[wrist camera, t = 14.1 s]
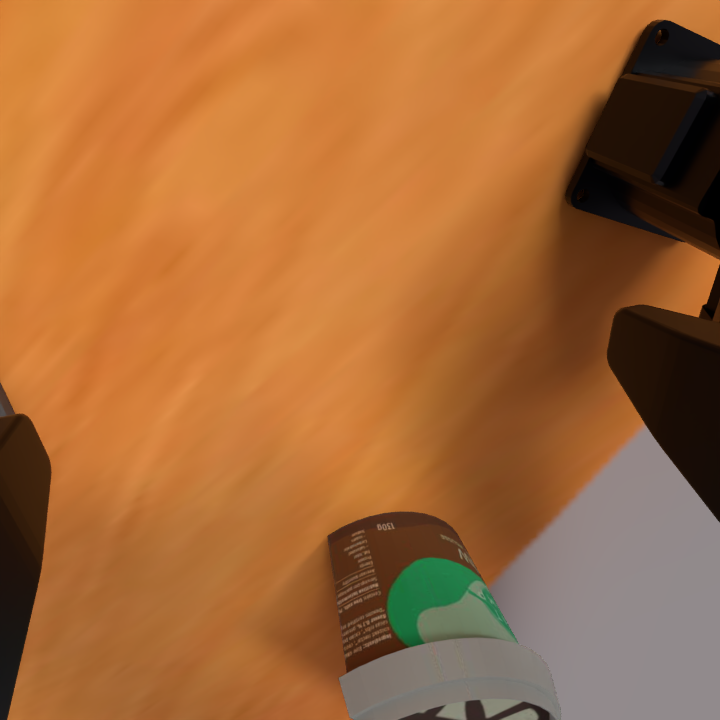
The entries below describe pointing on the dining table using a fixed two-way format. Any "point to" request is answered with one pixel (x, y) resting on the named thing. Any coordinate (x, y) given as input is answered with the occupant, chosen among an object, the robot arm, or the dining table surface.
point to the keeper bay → (5, 404)
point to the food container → (427, 629)
